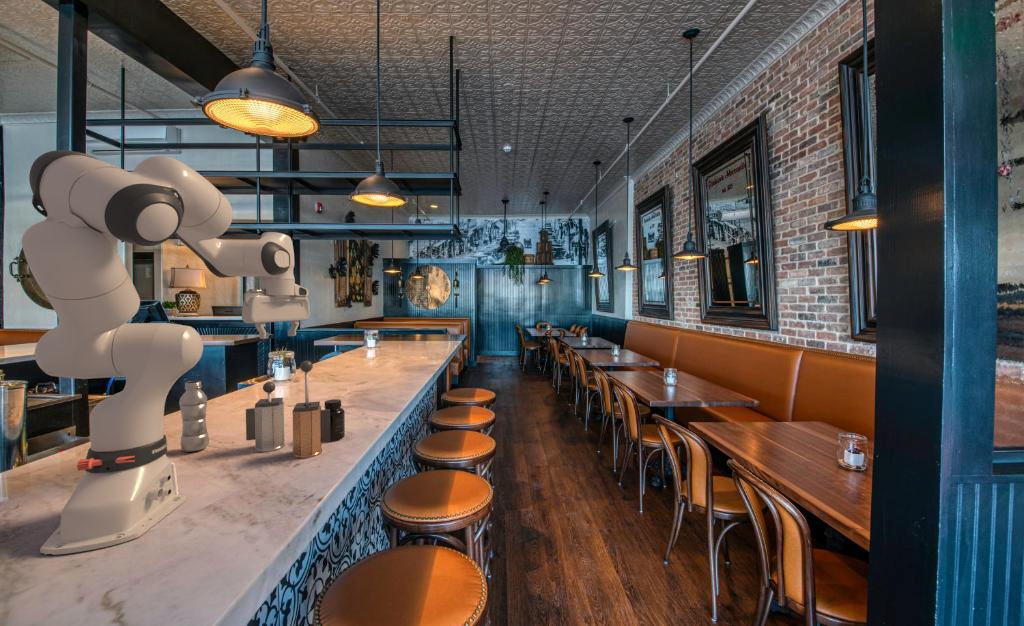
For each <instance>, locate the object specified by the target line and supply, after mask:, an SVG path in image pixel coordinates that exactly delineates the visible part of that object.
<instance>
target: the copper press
mask: <svg viewBox="0 0 1024 626" xmlns="http://www.w3.org/2000/svg"><path fill="white" fill-rule="evenodd" d="M328 441H330V409H328V410H324V409H322V405H321V401H309V405H308V406H305V402H297V403H296V404H295V405H294V406H293V409H292V457H293V458H295V459H300V460H301V459H303V460H304V459H310V458H314V457H316V456H319V455H321V454H322V453H323V447H322V444H323V443H326V442H327V443H329V442H328Z"/></svg>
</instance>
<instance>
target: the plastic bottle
mask: <svg viewBox="0 0 1024 626" xmlns="http://www.w3.org/2000/svg"><path fill="white" fill-rule="evenodd" d="M184 384H185V385H184V390H185V392H184V393H183V394H182V395H181V396H180V398H179V402H178V404H179V408H180V409H179V410H180V413H181V422H182V427H181V429H182V431H181V437H180V448H181V450H182V451H183V452H186V453H189V452H190V453H191V452H197V451H201V450H205V449H206V448H208V445H209V442H210V436H209V432H208V429H207V427H208V426H207V419H206V417H207V407H208V397H207V394H205V392H204V391H203V390H202V387H203V386H202V381H201V380H192V381H191V380H190V381H185V382H184Z"/></svg>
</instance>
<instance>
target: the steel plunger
mask: <svg viewBox="0 0 1024 626" xmlns="http://www.w3.org/2000/svg"><path fill="white" fill-rule="evenodd" d="M275 389H276V384H275V383H274V382H273V381H267V382H265V383H264V384H263V385H262V390H263V392H264V393H266V395H267V399H268V401H271V398H272V392H274V391H275Z"/></svg>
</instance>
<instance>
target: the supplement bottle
mask: <svg viewBox="0 0 1024 626" xmlns="http://www.w3.org/2000/svg"><path fill="white" fill-rule="evenodd" d="M323 407H324V409H323V410H328V409H330V441H328V442H327V443H330V442H332V441H333V442H338V441H341V440H343V439H344V438H345V433H346V431H345V428H346V427H345V426H346V423H345V419H346V418H345V409H344V408H343V407H342V400H341V399H339V398H337V399H336V398H335V399H334V398H333V399H328V400H326V401H324V406H323ZM342 438H343V439H342ZM340 439H341V440H340Z"/></svg>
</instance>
